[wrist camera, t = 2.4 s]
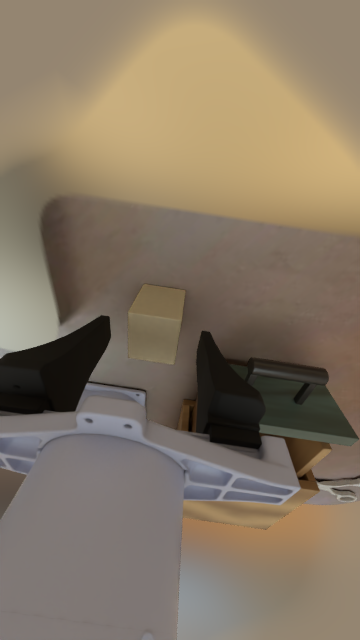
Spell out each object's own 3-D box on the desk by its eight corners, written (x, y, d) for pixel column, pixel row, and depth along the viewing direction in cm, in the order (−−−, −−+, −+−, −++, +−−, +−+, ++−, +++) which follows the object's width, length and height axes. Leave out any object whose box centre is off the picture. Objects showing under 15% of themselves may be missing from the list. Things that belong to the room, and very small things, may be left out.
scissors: (359, 504, 39) (255, 490, 38) (356, 499, 39) (254, 485, 39) (399, 482, 33) (277, 466, 33) (395, 477, 34) (276, 460, 33)
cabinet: (183, 398, 27) (178, 470, 20) (289, 414, 27) (320, 491, 20) (171, 451, 35) (165, 515, 28) (253, 463, 35) (266, 529, 28)
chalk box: (142, 323, 21) (127, 358, 16) (143, 283, 18) (127, 312, 14) (179, 329, 21) (174, 365, 16) (185, 289, 18) (182, 320, 14)
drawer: (208, 327, 19) (212, 380, 14) (343, 348, 19) (397, 408, 14) (182, 427, 29) (178, 481, 24) (271, 441, 29) (288, 497, 24)
